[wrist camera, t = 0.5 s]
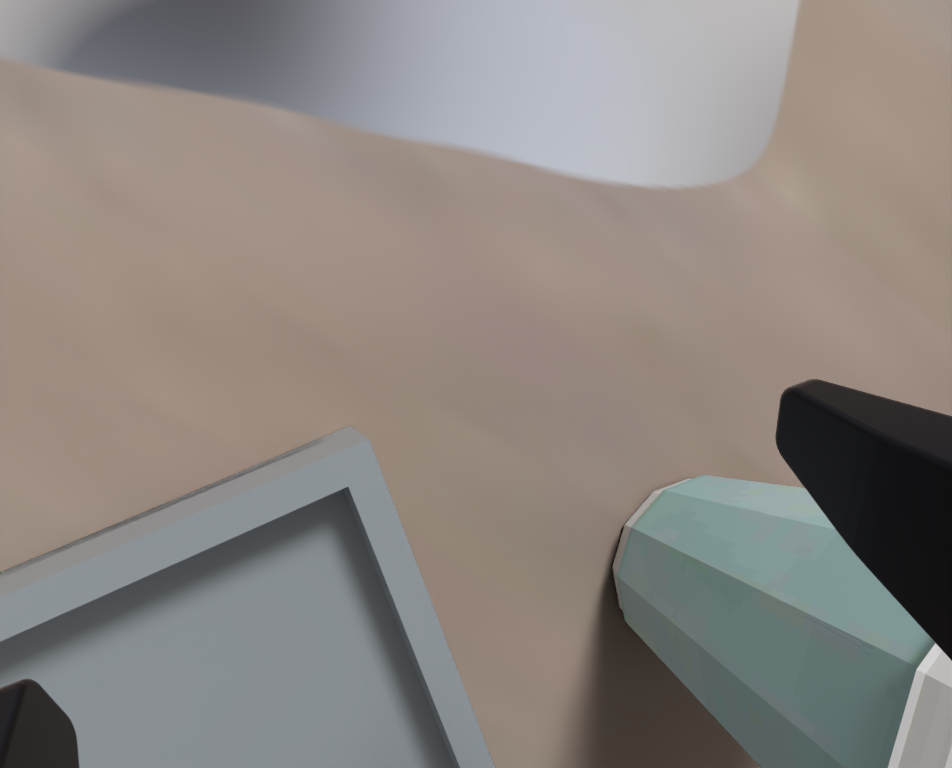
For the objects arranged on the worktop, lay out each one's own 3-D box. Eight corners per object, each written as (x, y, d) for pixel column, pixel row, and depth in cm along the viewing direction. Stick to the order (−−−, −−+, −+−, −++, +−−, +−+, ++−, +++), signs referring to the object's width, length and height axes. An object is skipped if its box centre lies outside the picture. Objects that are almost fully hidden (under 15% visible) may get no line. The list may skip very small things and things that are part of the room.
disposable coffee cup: (654, 370, 26) (1169, 444, 13) (836, 502, 30) (1382, 668, 16) (509, 634, 25) (896, 1033, 11) (717, 734, 29) (1194, 1124, 15)
